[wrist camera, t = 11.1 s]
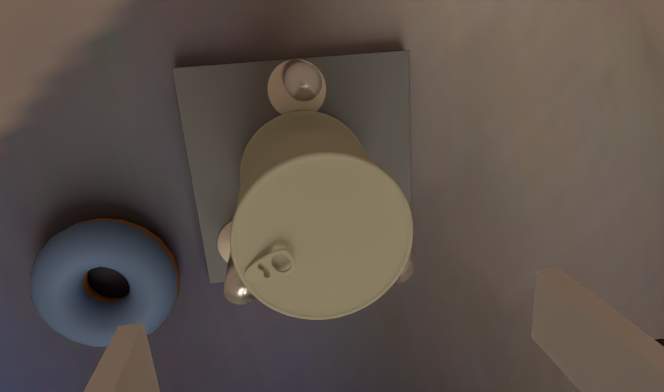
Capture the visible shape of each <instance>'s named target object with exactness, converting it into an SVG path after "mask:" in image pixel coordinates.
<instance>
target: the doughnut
mask: <svg viewBox="0 0 664 392" xmlns="http://www.w3.org/2000/svg"><path fill="white" fill-rule="evenodd" d="M97 267H107V268H110V269H113V270H116V271H117V272H119V273H120V274H122V275H123V276H124V277H125V278H126V279H127V281H128V283H129V286H130V292H129V294H128V295H126V296H125V297H122V298H108V297H105V296H102V295H100V294H99V293H97V292H95V291H94V290H93V289H92V287H91V286H90V285H89V283H88V280H87V274H88V271H89V270H90V269H92V268H97ZM30 286H31V298H32V300H33V302H34V304H35V306H36V309H37V311H38V313H39V315H40V316H41V317H42V318H43V319H44V320H45V322H46V323H47V324H48V325H49V326H50V327H51V328H52V329H53V330H54V331H56V332H58V333H59V334H61V335H63V336H64V337H66V338H68V339H70V340H71V341H74V342H78V343H81V344H85V345H88V346H92V347H108V345H109V343H110V341H111V339H112V337H113V335H114V333H115V331H116V329H117V328H118V326H124V325H131V324H138V323H144V327H145V331H146V335H149V334H151V333H152V332H154V331H155V330H156V329H157V328H158V327H159V326H160V325H161V324H162V323H163V322H164V321H165V319H166V318H167V317H168V316H169V314H170V312H171V311H172V308H173V306H174V304H175V302H176V299H177V297H178V295H179V270H178V267H177V264H176V261H175V258H174V255H173V254H172V253H171V251H170V250H169V249H168V248H167V246H166V245H165V244H164V242H163V241H162V240H161V239H160V238H159V237H157V236H156V235H154V234H153V233H152V232H150V231H149V230H147V229H146V228H145V227H142V226H140V225H137V224H134V223H131V222H128V221H126V220H123V219H110V218H97V219H92V220H87V221H83V222H78V223H76V224H74V225H72V226H71V227H69V228H67V229H65V230H64V231H62V232H60V233H58V234H56V235H55V236H53V237H52V238H51V239H50V240H49V241H48V242H47V243H46V244H45V246H44V247H43V248H42V249H41V250H40V251H39V253H38V254H37V256H36V258H35V261H34V264H33V267H32V270H31V273H30Z"/></svg>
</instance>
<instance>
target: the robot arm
mask: <svg viewBox="0 0 664 392" xmlns="http://www.w3.org/2000/svg"><path fill="white" fill-rule="evenodd" d="M531 338H532V339H533V340H534V341H535V342H536V343H537V344H538V345H539V346H540V347H541V349H542V350H543V351H544V352H545V353H546V354H547V355H548V356H549V357H550V358H551V359H552V361H553V362H554V363H555V364H556V365H557V366H558V367H559V368H560V369H561V370H562V371H563V373H564V374H565V375H566V376H567V377H568V378H569V379H570V380H571V381H572V382H573V384H574V385H575V386H576V387H577V388H578V389H579V390H580V391H581V392H664V339H657V340H654V339H653V338H651V337H650V336H649V335H647V334H646V333H645V332H643V331H642V330H641V329H639V328H638V327H637V326H635V325H634V324H633V323H631V322H630V321H629V320H628V319H626V318H625V317H624V316H622V315H621V314H620V313H618V312H617V311H616V310H614V309H613V308H612V307H610V306H609V305H608V304H606V303H605V302H604V301H602V300H601V299H600V298H598V297H597V296H596V295H594V294H593V293H592V292H590V291H589V290H588V289H586V288H585V287H584V286H582V285H581V284H580V283H578V282H577V281H576V280H574V279H573V278H572V277H570V276H569V275H568V274H566V273H565V272H564V271H562V270H561V269H560V268H558V267H552V268H545V269H538V270H537V273H536V285H535V296H534V308H533V320H532V331H531ZM84 392H160V390H159V386H158V381H157V377H156V373H155V369H154V364H153V360H152V356H151V352H150V348H149V343H148V339H147V335H146V331H145V327H144V323H138V324H131V325H124V326H118V328H117V329H116V331H115V333H114V335H113V337H112V339H111V341H110V343H109V345H108V347H107V348H106V350H105V352H104V354H103V356H102V358H101V360H100V362H99V364H98V365H97V367H96V369H95V371H94V373H93V375H92V377H91V379H90V381H89V383H88V384H87V386H86V388H85V390H84Z"/></svg>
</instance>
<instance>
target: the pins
mask: <svg viewBox="0 0 664 392" xmlns="http://www.w3.org/2000/svg"><path fill="white" fill-rule="evenodd" d="M281 79H282V81H283V84H284V86H285V88H286V90H287V92H288V94H289V95H290V96H291V97H292V98H294V99H295V100H298V101H302V102H305V101H310V100H312V99H314V98H315V97H316V96H317V95H318V94H319V93H320V91H321V88H322V77H321V74H320V73H319V71H318V70H317V69H316V68H315V67H314V66H312V65H310V64H308V63H306V62H304V61H301V60H298V59H292V60H289V61H288V62H286V63H285V64H284V65H283V67H282V70H281ZM412 273H413V263H412V261H411V260H410V258H408V260H407V262H406V265H405V267H404V269H403V271H402V272H401V274H400V276H399V277H398V279H397V280H396V281H395V282H394V284H399V283H402V282H405V281H406V280H408V279H409V278H410V276H411V275H412ZM223 292H224V296H225V297H226V299H227V300H228V301H230V302H231V303H233V304H238V305H242V304H246V303H249V302H250V301H252V300H253V299H254V297H255V296H254V295H253V294H252V293H251V292H250V291H249V290H248V289H247V288H246V286H245V285H244V284H243V282H242V281H241V279H240V277H239V275H238V273H237V271H236V269H235V266H234V263H233V260H232V255H231V249H230V253H229V259H228V265H227V271H226V277H225V283H224V288H223Z"/></svg>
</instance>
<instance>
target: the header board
mask: <svg viewBox="0 0 664 392" xmlns="http://www.w3.org/2000/svg"><path fill="white" fill-rule="evenodd" d="M294 59H298V60H301V61H304V62H306V63H308V64H310V65H312V66H314V67H315V68H316V69H317V70H318V71H319V73H320V74H321V77H322V88H321V91H320V93H319V94H318V95H317V96H316V97H315V98H314V99H312V100H310V101H305V102H302V101H298V100H295V99H294V98H292V97H291V96H290V95H289V94H288V92H287V90H286V88H285V86H284V84H283V81H282V79H281V70H282V67H283V65H284V64H285V63H286V62H288V61H289V60H292V59H281V60H268V61H255V62H241V63H228V64H215V65H202V66H189V67H176V68H172V71H173V77H174V82H175V88H176V94H177V99H178V105H179V111H180V116H181V122H182V128H183V133H184V139H185V145H186V150H187V156H188V161H189V167H190V173H191V178H192V184H193V190H194V195H195V201H196V207H197V212H198V218H199V223H200V229H201V235H202V240H203V246H204V252H205V257H206V263H207V269H208V274H209V280H210V284H212V283H220V282H225V277H226V271H227V265H228V259H229V253H230V231H231V224H232V220H233V217H234V213H235V211H236V207H237V202H238V196H239V190H240V183H241V182H240V165H241V159H242V156H243V153H244V150H245V148H246V146H247V144H248V142H249V141H250V139H251V138H252V136H253V135H254V134H255V133H256V132H257V131H258V130H259V129H260V128H261V127H262V126H263V125H264V124H266V123H267V122H269V121H270V120H272V119H274V118H276V117H278V116H280V115H283V114H286V113H290V112H295V111H315V112H320V113H324V114H327V115H329V116H332V117H334V118H336V119H337V120H339V121H341V122H342V123H343V124H345V125H346V126H347V127H348V128H349V129H350V130H351V131H352V132H353V133H354V134H355V136H356V137H357V138H358V140H359V142H360V144H361V146H362V148H363V149H364V150H365V151H366V152H367V153H368V154H369V156H370V157H371V158H372V159H373V160H374V161H375V162H376V163H377V165H378V166H379V167H380V168H382V169H383V170H384V171H385V172H387V173H388V174H389V175H390V176H391V177H392V178H393V179H394V181H395V182H396V183H397V184H398V186H399V187H400V188H401V190H402V192H403V193H404V195H405V197H406V199H407V202H408V204H409V207H410V211H411V155H410V69H409V50H399V51H386V52H373V53H360V54H347V55H334V56H320V57H307V58H294ZM409 258H412V247H411V251H410V254H409Z"/></svg>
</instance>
